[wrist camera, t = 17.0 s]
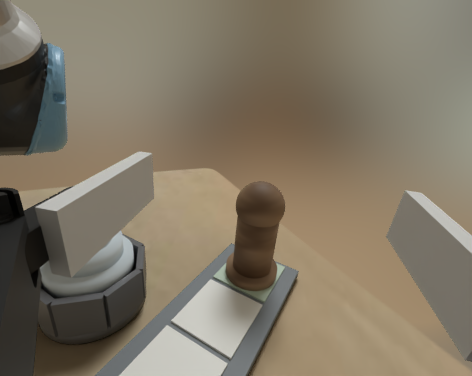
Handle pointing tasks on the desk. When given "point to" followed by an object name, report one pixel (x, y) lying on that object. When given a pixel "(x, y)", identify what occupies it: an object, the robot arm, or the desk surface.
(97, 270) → the pop-up dome
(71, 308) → the dome base
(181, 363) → the game board
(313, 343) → the desk surface
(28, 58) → the robot arm
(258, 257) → the walnut pawn
